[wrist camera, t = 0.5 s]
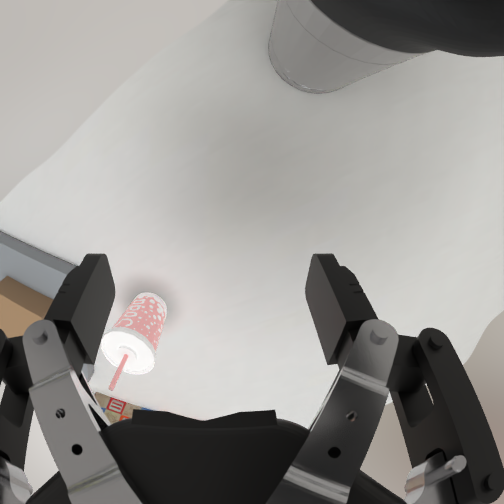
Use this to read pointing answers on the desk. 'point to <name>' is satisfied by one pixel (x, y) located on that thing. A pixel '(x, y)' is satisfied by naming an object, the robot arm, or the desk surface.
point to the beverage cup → (135, 336)
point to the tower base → (28, 286)
